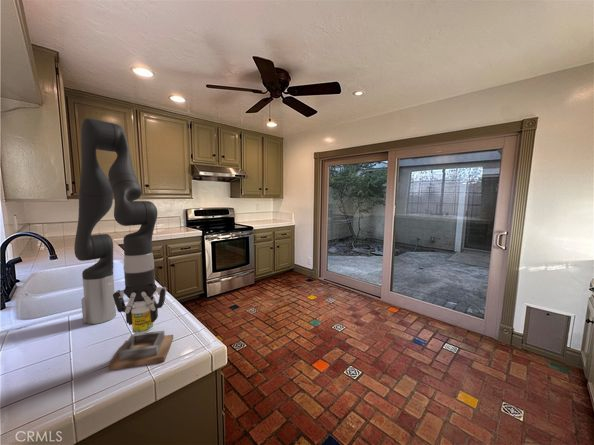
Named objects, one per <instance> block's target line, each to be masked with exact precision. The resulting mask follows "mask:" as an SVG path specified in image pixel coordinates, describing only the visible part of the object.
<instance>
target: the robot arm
mask: <svg viewBox="0 0 594 445" xmlns="http://www.w3.org/2000/svg"><path fill="white" fill-rule="evenodd" d="M80 126H81V127H80V128H81V129H80V152H81V155H80V156H81V168H80V179H79V181H80V182H79V190H78V191H79V192H78V219H77V220H78V221H77V227H76V233H75V238H74V255H75V257H76V259H77V260H79V261H83V262H85V261H92V260H98V261H97V262H96V263H94V264H93V265H91V266H89V267H87V268H85V269H83V271H82V276H81V278H82V286H83V288H82V289H83V297H82V298H81V312H82V314H81V315H82V322H83V323H82V324H87V325H96V324H102V323H106V322H108V321H111V320H112V319H114V318H115V317H116V316H117V312H118V313H125V322H126V324H128V326H131V325H132V315H131V310H132V308H133V307H134V305H133V302H136V301H146V303H147V304H148V305H149V306H150V308H151V322H153V323H155V322H156V320H157V319H158V317H159V311H158V309H161V308H163V306H164V304H165V300H166V295H167V290H168V288H167V286H166V285H165V286H162V287H160V286H157V284H156V279H155V278H156V276H155V275H156V274H155V260H154V254H153V235H154V231H155V230H154V229H155V226H156V222H157V219H158V208H157V207H156V205H155V203H154V202H152V201H149V200H138V199H139V198H141V196H142V193H143V192H142V191H143V189H142V188H141V186H140V182H139V180H138V178H137V176H136V173H135V170H134V167H133V162H132V156H131V155H132V154H131V151H130V146H129V143H128V142H129V141H128V138H127V135H126V131H125V129H124V128H123V127H122V126H121V124H120V125H119V124H116V123H113V122H109V121H106V120H105V121H104V120H99V119H95V118H92V117H91V118H90V117H85V118H84V119H83V121H82V122H81V125H80ZM97 150H98V151H105V152H114V153H115V154H116V158H115V160H114V162H112V165H111V166H110V167H109V169H108V172H107V173H108V175H107V174H106V173H105V172H104V171H103V169H102V167H101V165H100V163H99V161H98V159H97ZM113 200H114V205H113ZM112 206H114V207H113V208H114V209H113V217H114V220H115V221H116V223H118V224H119V225H120V226H124V227H130V226H131V227H132V226H140V227H139V229H138V230H137V231H134V232H131V233H128V234H125V235H124V237H123V254H124V255H123V256H124V257H123V258H124V259H123V273H124V274H123V275H124V286H125V288H124V289H122V290H120V289H117V290H116V291H115V280H114V278H115V277H114V242H113V238H112V236H111V235H110V234H108V233H101V234H99V233H98V234H92V232H93V230H94V228H95V227H96V225H97V224H98V223H99V222H101V220H102V219H103V218H104V217H105V216H106V215H107V213H108V212H109V211H111V210H110V209H111V208H112ZM155 292H157V295H159V299H158V302H157V301H156V298H155V296H154V294H155ZM125 296H126V297H127V298H128V299H129V300H128V301H127V305H126V303H125V299H124V297H125Z"/></svg>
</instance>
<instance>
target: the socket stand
mask: <svg viewBox="0 0 594 445" xmlns="http://www.w3.org/2000/svg"><path fill="white" fill-rule="evenodd" d="M173 341H174V334H168V335H167V334H166V335H165V330H157V331H148V332H146V333H143V334H135V333H133V334H131V335H130V336H129V338H128V339H125V341H124V342H123V344H122V345H121V346H120V347H119V349H118V351H117V352H116V353H115V355H114V356H113V358H112V359H111V361H110V362H109V363H108V365H107V367H108V371H112V370H118V369H126V368H132V367H139V366H144V365H151V364H159V363H164V362H165V361H166V359H167V356H168V354H169V351H170V349H171V346H172V344H173Z"/></svg>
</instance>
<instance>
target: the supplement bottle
mask: <svg viewBox="0 0 594 445" xmlns="http://www.w3.org/2000/svg"><path fill="white" fill-rule="evenodd" d="M133 305H134V306H133V308H132V310H131V315H132V333H133V334H143V333H148V332H151V331H152V329H153V328H154V322H151V308H150V306H149V305H148V304H147V303H146V301H136V302H133Z"/></svg>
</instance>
